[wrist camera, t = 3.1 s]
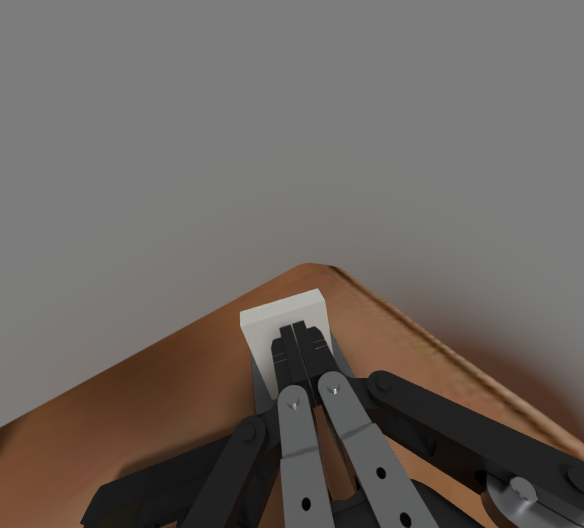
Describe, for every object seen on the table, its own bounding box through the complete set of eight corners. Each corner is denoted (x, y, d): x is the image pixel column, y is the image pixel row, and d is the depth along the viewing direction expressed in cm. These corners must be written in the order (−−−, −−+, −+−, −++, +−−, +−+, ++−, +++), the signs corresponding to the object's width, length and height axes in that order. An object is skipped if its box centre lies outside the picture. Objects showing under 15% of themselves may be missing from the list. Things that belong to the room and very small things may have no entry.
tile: (336, 377, 27) (324, 300, 21) (272, 400, 26) (240, 326, 20) (329, 361, 28) (317, 287, 23) (269, 382, 28) (239, 310, 22)
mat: (356, 382, 26) (356, 379, 26) (257, 417, 25) (256, 415, 25) (314, 301, 40) (313, 298, 40) (249, 321, 39) (248, 319, 38)
